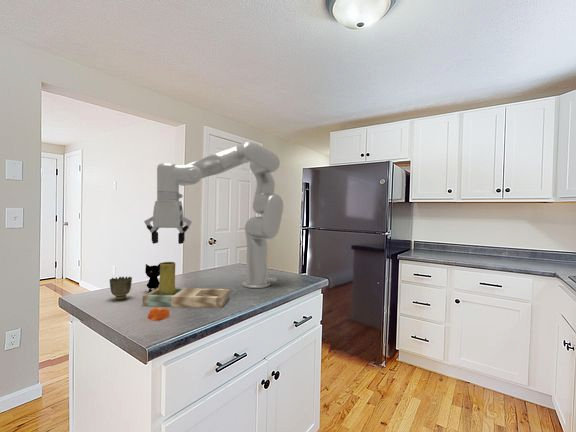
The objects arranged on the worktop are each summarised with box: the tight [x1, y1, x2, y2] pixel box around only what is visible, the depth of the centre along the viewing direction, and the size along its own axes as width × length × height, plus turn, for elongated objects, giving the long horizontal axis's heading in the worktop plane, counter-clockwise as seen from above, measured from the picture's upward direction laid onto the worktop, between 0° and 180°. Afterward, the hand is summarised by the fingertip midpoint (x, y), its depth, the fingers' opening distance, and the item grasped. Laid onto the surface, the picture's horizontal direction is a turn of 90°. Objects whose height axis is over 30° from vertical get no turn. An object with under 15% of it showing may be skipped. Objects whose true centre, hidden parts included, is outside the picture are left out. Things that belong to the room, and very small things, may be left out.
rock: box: [147, 306, 170, 322], centre depth 93 cm, size 12×12×4 cm
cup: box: [109, 276, 133, 301], centre depth 110 cm, size 8×7×8 cm
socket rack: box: [142, 287, 230, 309], centre depth 109 cm, size 28×12×4 cm, turn 89°
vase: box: [159, 261, 176, 295], centre depth 109 cm, size 6×6×14 cm
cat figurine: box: [144, 263, 160, 293], centre depth 121 cm, size 7×7×12 cm
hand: (168, 243), depth 109 cm, fingers open, 9 cm apart
